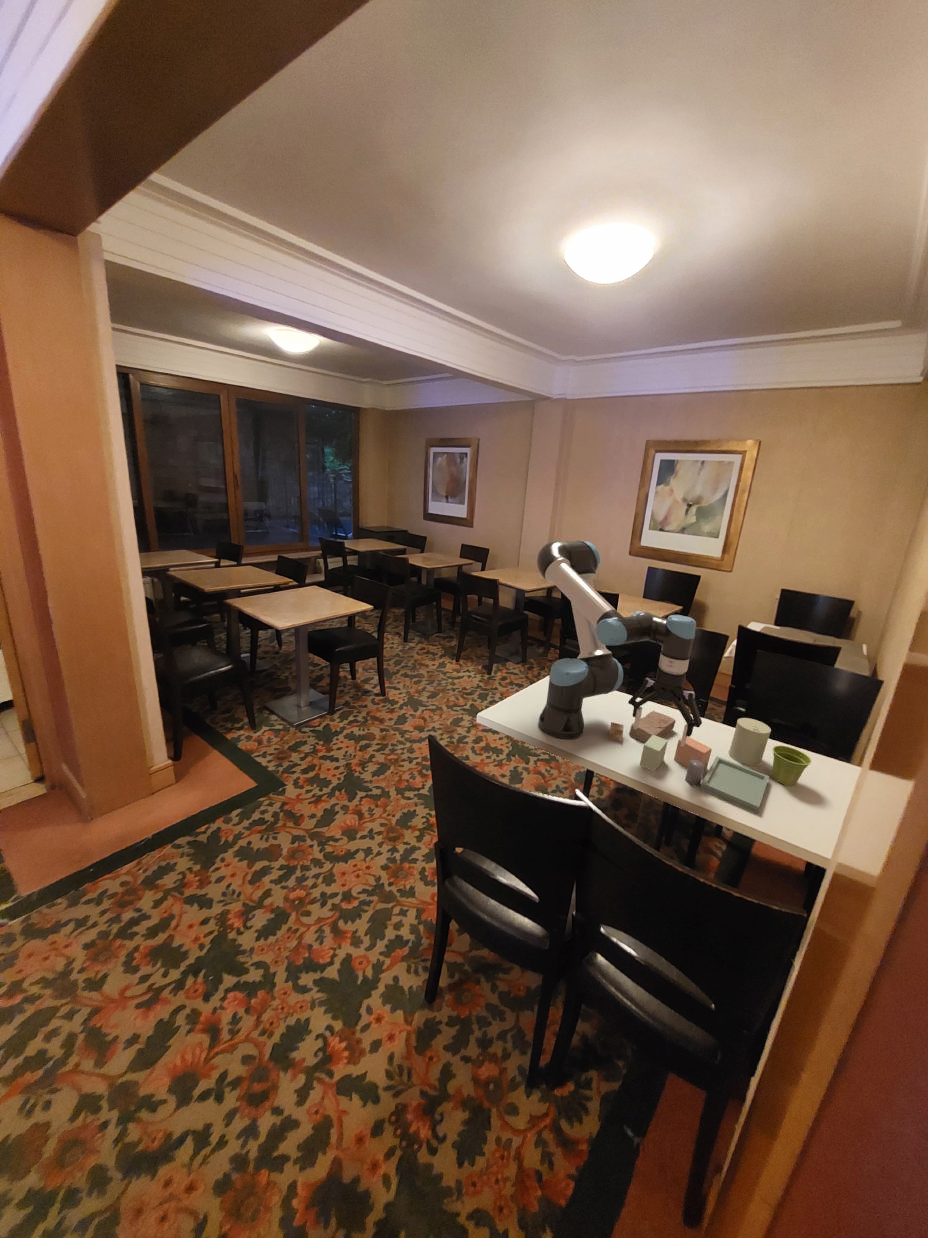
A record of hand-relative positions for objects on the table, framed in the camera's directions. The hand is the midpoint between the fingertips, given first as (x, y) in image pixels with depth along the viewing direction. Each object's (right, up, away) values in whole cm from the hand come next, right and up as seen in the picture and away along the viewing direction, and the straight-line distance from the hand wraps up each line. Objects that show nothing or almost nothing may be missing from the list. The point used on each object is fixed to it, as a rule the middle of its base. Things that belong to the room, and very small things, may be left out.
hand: (658, 735), depth 138 cm
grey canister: (+8, -12, -5) cm, 15 cm away
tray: (+19, -13, -5) cm, 24 cm away
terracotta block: (+11, -10, +4) cm, 15 cm away
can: (+31, -9, +9) cm, 34 cm away
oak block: (-8, -4, +16) cm, 18 cm away
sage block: (-1, -9, +3) cm, 10 cm away
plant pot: (+36, -13, -1) cm, 39 cm away
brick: (+6, -4, +20) cm, 22 cm away
